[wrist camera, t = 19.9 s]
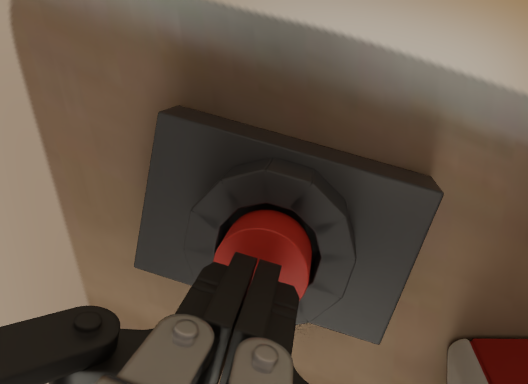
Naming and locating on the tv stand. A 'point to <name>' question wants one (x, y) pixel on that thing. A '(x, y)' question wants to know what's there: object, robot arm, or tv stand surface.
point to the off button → (271, 245)
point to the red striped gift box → (488, 361)
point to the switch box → (290, 203)
